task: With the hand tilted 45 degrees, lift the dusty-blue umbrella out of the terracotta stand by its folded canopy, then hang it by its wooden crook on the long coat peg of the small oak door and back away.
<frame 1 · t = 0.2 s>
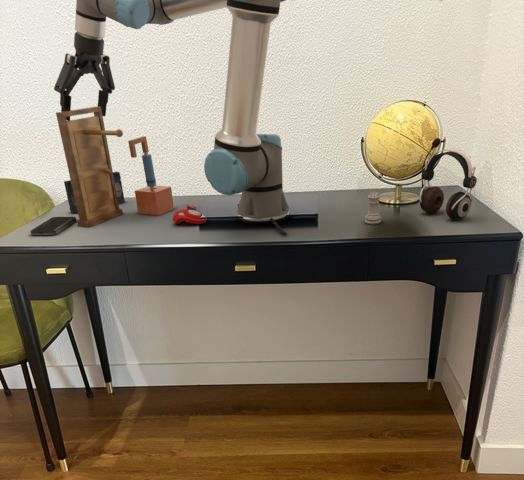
hand: (83, 116, 154), 28 cm above the table, tool tilted 20°, fingers open, 13 cm apart
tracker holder: (192, 221, 157), on the table
phone: (54, 228, 158), on the table
rook chess piece: (372, 223, 147), on the table
umbrella: (156, 211, 169), resting in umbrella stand
headset: (443, 217, 149), on the table
vhs cassette tape: (98, 208, 177), on the table
door: (101, 219, 163), on the table
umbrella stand: (156, 211, 169), on the table
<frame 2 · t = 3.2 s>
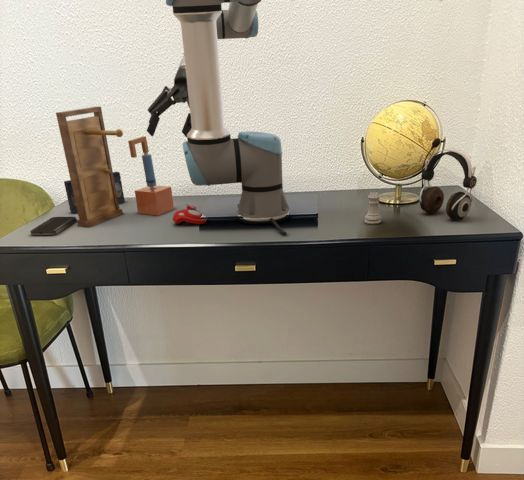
hand: (167, 134, 166), 21 cm above the table, tool tilted 45°, fingers open, 13 cm apart
nothing on the table moved.
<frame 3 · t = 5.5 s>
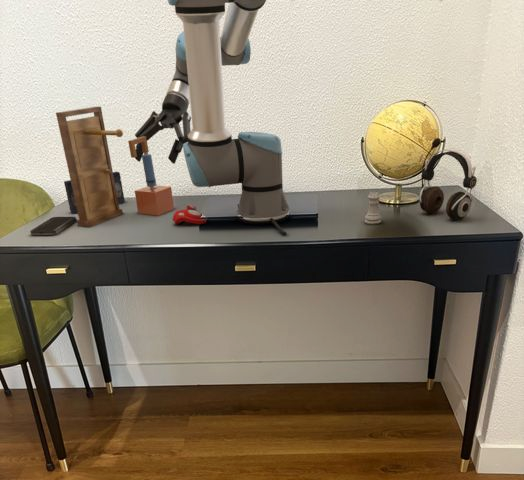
hand: (153, 160, 163), 15 cm above the table, tool tilted 45°, fingers open, 13 cm apart
nothing on the table moved.
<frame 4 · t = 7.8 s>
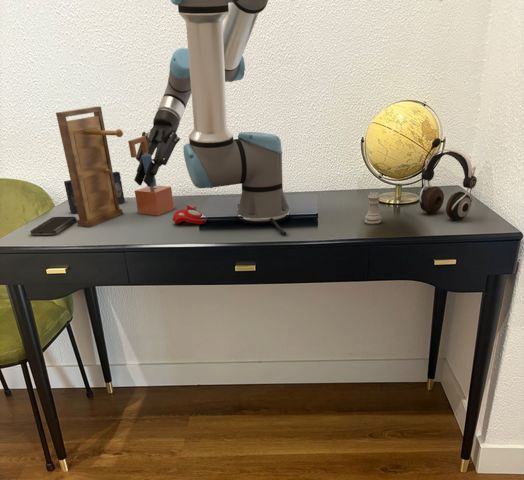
hand: (142, 183, 161), 10 cm above the table, tool tilted 45°, fingers closed on umbrella, 3 cm apart
umbrella: (156, 211, 169), resting in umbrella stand, touching gripper
everything else where it was.
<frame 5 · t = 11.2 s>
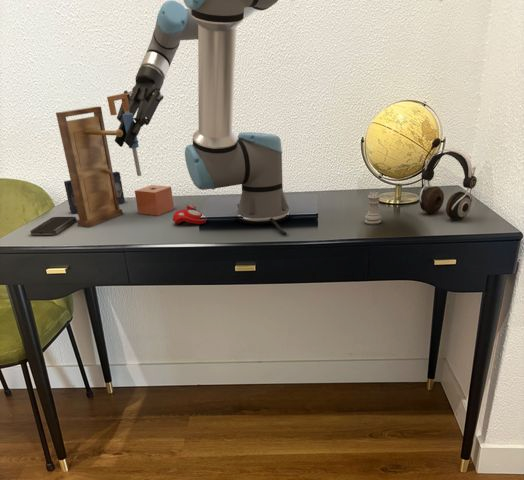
hand: (123, 143, 151), 22 cm above the table, tool tilted 45°, fingers closed on umbrella, 3 cm apart
umbrella: (139, 175, 159), point 12 cm above the table, touching gripper
everything else where it was.
when the fingers open (14 cm above the table, at t = 14.8 s): umbrella moves 4 cm, resting on door.
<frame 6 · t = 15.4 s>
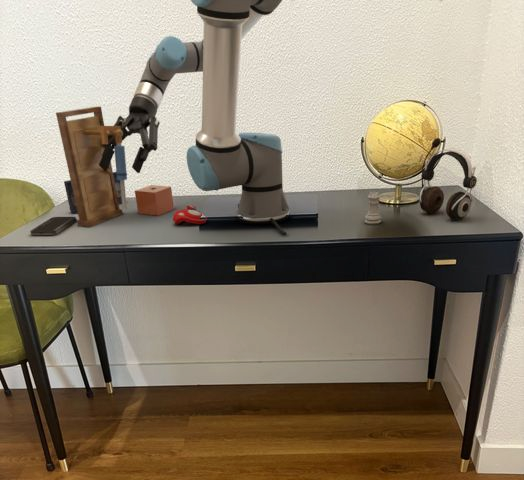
hand: (118, 169, 151), 15 cm above the table, tool tilted 45°, fingers open, 12 cm apart
umbrella: (124, 208, 156), point 4 cm above the table, tilted 7°, touching door
everything else where it was.
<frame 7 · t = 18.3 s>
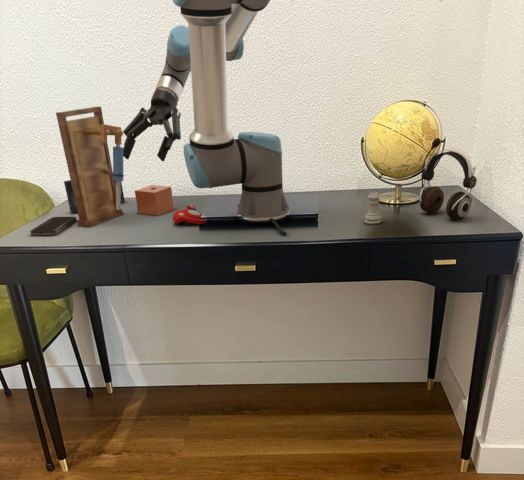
hand: (142, 157, 158), 17 cm above the table, tool tilted 45°, fingers open, 13 cm apart
umbrella: (118, 209, 154), point 5 cm above the table, tilted 14°, touching door
everything else where it was.
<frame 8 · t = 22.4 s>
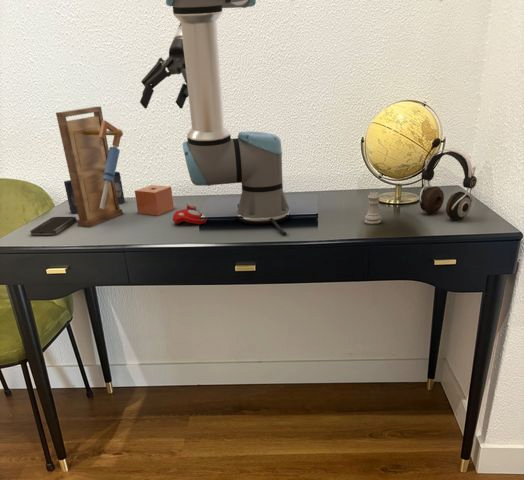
hand: (160, 105, 161), 30 cm above the table, tool tilted 45°, fingers open, 13 cm apart
umbrella: (101, 208, 149), point 6 cm above the table, tilted 33°, touching door
everything else where it was.
at the end: umbrella touching door; umbrella point 5.6 cm above the table; the gripper is holding nothing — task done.
